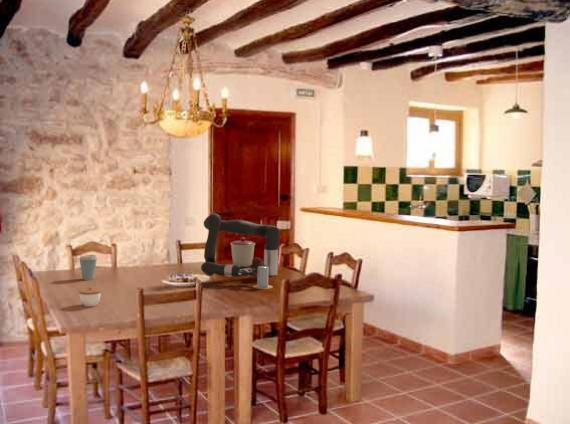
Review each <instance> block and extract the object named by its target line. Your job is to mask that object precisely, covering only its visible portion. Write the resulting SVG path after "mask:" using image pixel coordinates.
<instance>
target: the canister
mask: <svg viewBox="0 0 570 424" xmlns="http://www.w3.org/2000/svg"><path fill="white" fill-rule="evenodd" d="M230 246H231V257H232V265H241V266H242V268H250V265H253V263H252V260H253V259H254V251H255V246H256V242H253V241H251V240H246V237H245V236H244V237H243V236H242V237H240V240H234V241H232V242H230Z"/></svg>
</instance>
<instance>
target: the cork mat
mask: <svg viewBox="0 0 570 424" xmlns="http://www.w3.org/2000/svg"><path fill="white" fill-rule="evenodd" d="M252 287H253V288H254V289H260V290H269V289H272V288H273V285H270V284H268V287H267V288H259V287H257V284H255V285H253V286H252Z"/></svg>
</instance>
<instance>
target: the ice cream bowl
mask: <svg viewBox="0 0 570 424" xmlns="http://www.w3.org/2000/svg"><path fill="white" fill-rule="evenodd" d="M259 266H267V265H264V260H263V259H262V258H260V257H257V256H256V257H253V260H252V264H251V265H250V266H249V268H255V269H256V270H257V268H258V267H259ZM251 271H253V270H251ZM256 275H257V273H256ZM254 280H255V281H257V277H256V278H254Z"/></svg>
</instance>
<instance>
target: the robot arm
mask: <svg viewBox="0 0 570 424" xmlns="http://www.w3.org/2000/svg"><path fill="white" fill-rule="evenodd" d="M203 226H204V229H206V230H208V235H207V238H206V242H205V245H204V251H203V252H204V253H203V258H204V261H205V262H203V263H202V264H201V267H200V269H201V271H202V272H203V273H204V274H205V275H206V276H208V277H211V276H213V275H216V276H221V277H222V276H223V277H228V278H238V279H239V278H241V277H257V274H256V273H257V270H256V269H255V268H250V267H242V266H241V265H234V264H225V263H224V264H222V263H221V264H220V263H216V251H217V250H216V249H217V242H218V237H219V233H220V232H226V233H232V234H237V235H243V236H258V237H263V238H266V243H265V244H264V246H263V249H264V251H263V261H264V265H267V267H268V268H269V271H268V277H269V276H270V277H271V276H278V265H279V263H278V261H279V260H278V259H279V258H278V257H279V254H278V253H279V246H280V236H281V233H280V229H279V227H278V226H275V225H271V224H258V223H255V222H251V221H248V220H242V219H231V220H222V219H221V216H220V215H219V214H218V213H214V212H213V213H211V214H209V215H208V216H207V217H205V219H204V221H203ZM252 270H253V271H252Z"/></svg>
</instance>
